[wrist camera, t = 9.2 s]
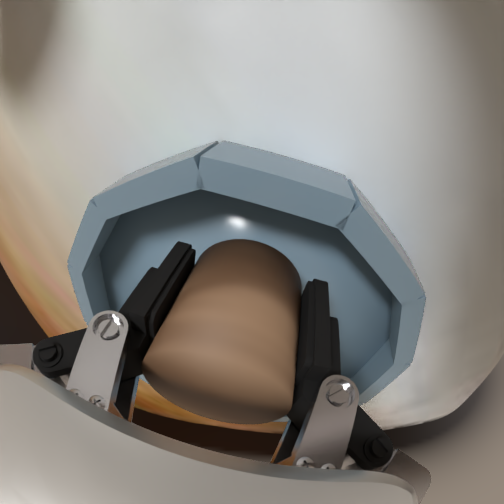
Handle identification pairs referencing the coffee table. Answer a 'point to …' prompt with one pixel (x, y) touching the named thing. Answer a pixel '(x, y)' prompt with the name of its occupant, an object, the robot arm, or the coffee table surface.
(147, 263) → the ring tray
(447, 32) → the coffee table surface
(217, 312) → the walnut bead
